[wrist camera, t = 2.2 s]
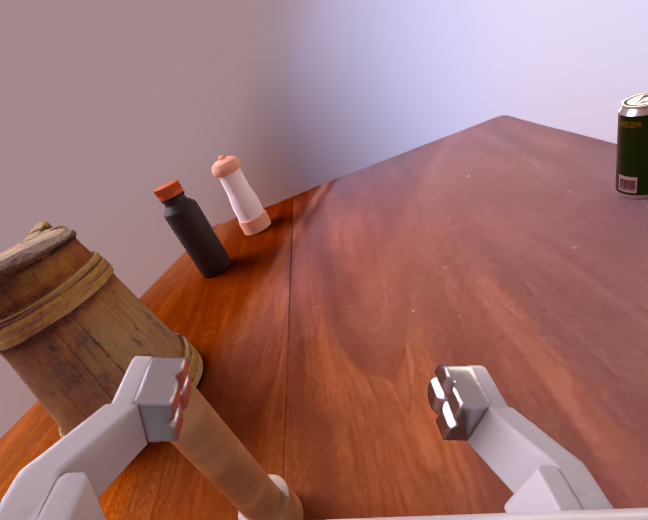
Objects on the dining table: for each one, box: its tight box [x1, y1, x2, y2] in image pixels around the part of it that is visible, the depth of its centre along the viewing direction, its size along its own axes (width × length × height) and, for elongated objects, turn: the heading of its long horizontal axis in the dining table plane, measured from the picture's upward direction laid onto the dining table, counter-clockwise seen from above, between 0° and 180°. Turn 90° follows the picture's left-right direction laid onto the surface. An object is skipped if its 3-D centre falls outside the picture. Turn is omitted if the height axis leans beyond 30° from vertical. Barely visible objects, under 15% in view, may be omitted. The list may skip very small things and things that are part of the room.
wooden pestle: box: [171, 382, 304, 520], centre depth 25 cm, size 4×4×17 cm
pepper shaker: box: [212, 155, 271, 235], centre depth 85 cm, size 7×7×19 cm
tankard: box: [0, 221, 203, 439], centre depth 45 cm, size 18×24×25 cm
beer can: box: [616, 92, 648, 199], centre depth 44 cm, size 5×5×12 cm
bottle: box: [154, 180, 231, 277], centre depth 73 cm, size 7×7×20 cm
